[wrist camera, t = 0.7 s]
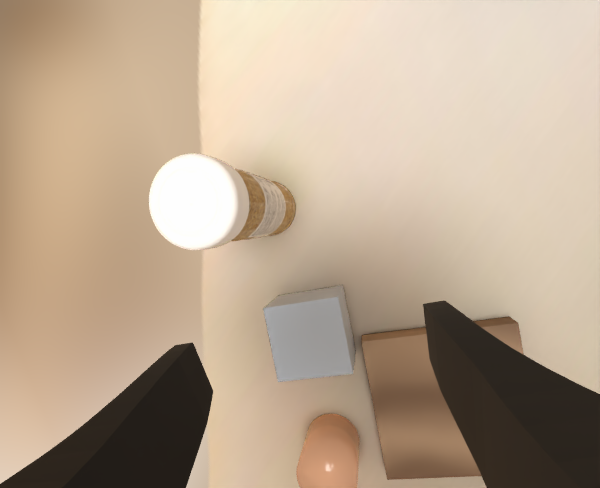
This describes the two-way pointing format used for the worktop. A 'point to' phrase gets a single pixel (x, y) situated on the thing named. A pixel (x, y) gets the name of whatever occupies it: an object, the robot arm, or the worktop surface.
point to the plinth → (419, 404)
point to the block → (310, 334)
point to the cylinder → (329, 454)
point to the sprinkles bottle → (216, 203)
